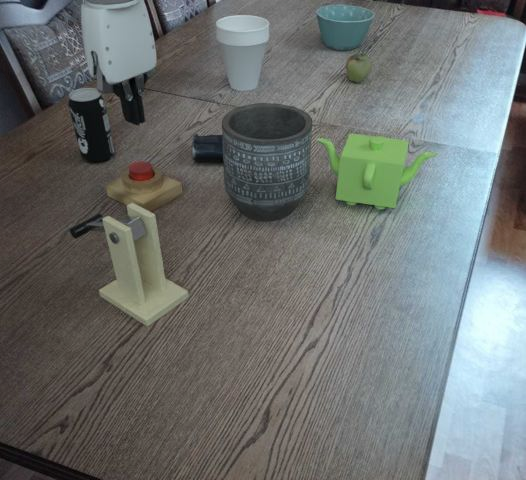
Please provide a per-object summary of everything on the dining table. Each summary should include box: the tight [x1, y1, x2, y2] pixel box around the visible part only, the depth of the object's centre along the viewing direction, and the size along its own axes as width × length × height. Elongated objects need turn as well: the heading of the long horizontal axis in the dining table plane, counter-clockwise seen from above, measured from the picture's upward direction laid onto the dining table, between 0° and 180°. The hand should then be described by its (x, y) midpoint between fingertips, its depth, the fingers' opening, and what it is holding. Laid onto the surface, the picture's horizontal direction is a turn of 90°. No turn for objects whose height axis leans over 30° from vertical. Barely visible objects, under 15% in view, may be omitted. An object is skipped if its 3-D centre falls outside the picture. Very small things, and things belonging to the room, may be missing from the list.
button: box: [128, 161, 154, 181], centre depth 95 cm, size 4×4×2 cm
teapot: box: [316, 133, 438, 210], centre depth 94 cm, size 15×13×11 cm
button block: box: [104, 164, 184, 213], centre depth 97 cm, size 10×9×4 cm
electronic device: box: [191, 132, 224, 163], centre depth 107 cm, size 9×6×15 cm
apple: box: [345, 53, 371, 84], centre depth 135 cm, size 6×8×6 cm
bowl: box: [315, 4, 375, 51], centre depth 152 cm, size 16×16×8 cm
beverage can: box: [67, 87, 116, 164], centre depth 104 cm, size 7×7×12 cm
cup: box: [215, 14, 270, 92], centre depth 129 cm, size 12×12×14 cm
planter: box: [221, 102, 313, 222], centre depth 90 cm, size 14×14×15 cm
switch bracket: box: [98, 203, 190, 328], centre depth 74 cm, size 10×8×13 cm
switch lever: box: [69, 213, 147, 241], centre depth 74 cm, size 13×5×2 cm, turn 50°
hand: (135, 121), depth 89 cm, fingers closed
